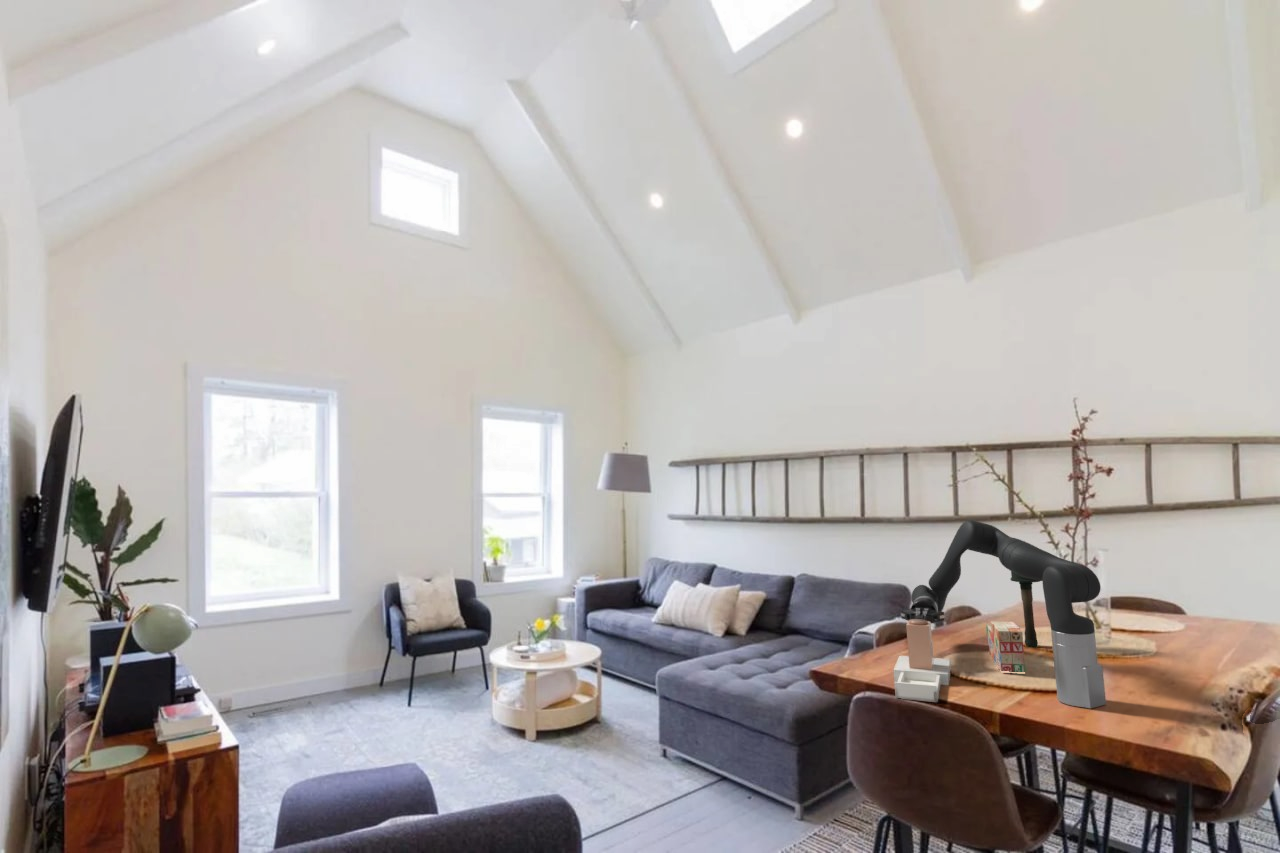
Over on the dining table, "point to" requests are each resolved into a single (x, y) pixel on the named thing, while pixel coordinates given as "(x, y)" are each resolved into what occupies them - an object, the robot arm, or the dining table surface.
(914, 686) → the tray
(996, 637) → the stack of blocks
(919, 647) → the tan piece
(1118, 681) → the dining table surface
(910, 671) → the white windowed box
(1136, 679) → the dining table surface
